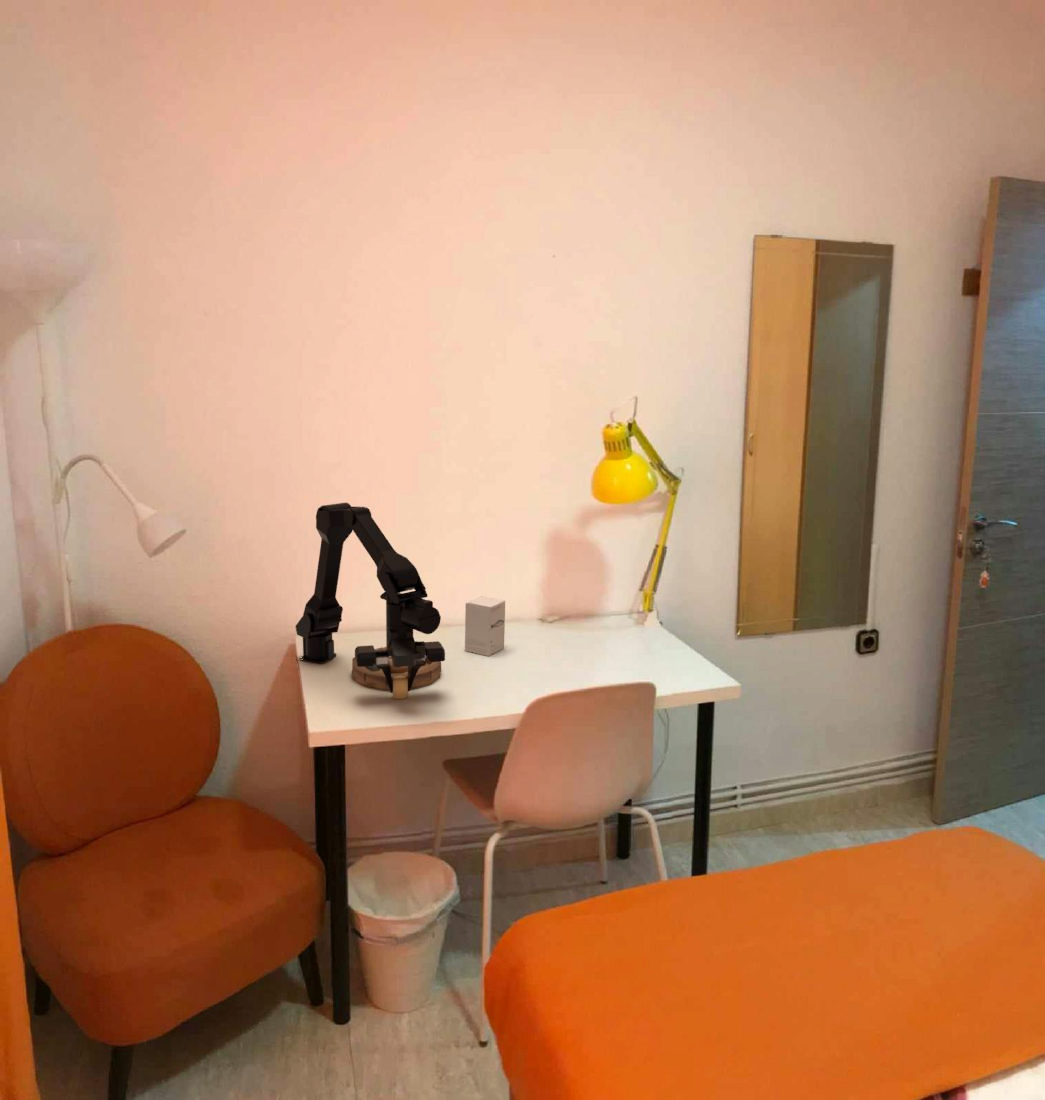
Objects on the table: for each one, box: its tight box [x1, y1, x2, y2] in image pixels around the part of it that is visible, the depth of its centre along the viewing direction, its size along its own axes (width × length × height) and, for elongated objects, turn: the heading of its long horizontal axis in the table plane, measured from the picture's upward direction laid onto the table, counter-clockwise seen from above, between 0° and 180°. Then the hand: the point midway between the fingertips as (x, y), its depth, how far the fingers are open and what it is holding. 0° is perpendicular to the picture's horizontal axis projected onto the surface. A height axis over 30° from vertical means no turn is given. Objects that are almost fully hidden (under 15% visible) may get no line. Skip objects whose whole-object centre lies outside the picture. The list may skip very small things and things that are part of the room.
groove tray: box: [351, 646, 442, 691], centre depth 228 cm, size 20×20×3 cm
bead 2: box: [391, 676, 409, 700], centre depth 215 cm, size 3×3×4 cm
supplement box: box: [464, 596, 506, 657], centre depth 245 cm, size 7×7×13 cm
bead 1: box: [366, 664, 380, 671], centre depth 228 cm, size 3×3×4 cm
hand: (400, 691), depth 215 cm, fingers closed on bead 2, 3 cm apart
